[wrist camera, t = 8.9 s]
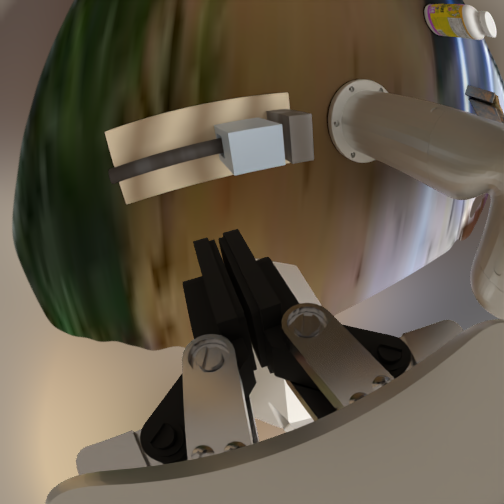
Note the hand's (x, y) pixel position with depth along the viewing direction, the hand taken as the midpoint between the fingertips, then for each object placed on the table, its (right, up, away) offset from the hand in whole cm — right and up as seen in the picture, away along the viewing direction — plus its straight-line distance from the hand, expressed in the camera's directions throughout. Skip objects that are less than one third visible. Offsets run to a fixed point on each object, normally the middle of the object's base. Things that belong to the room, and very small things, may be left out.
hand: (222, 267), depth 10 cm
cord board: (-4, +13, +19) cm, 23 cm away
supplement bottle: (+33, +42, +15) cm, 55 cm away
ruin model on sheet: (+51, +34, +27) cm, 67 cm away
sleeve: (0, +13, +18) cm, 22 cm away
